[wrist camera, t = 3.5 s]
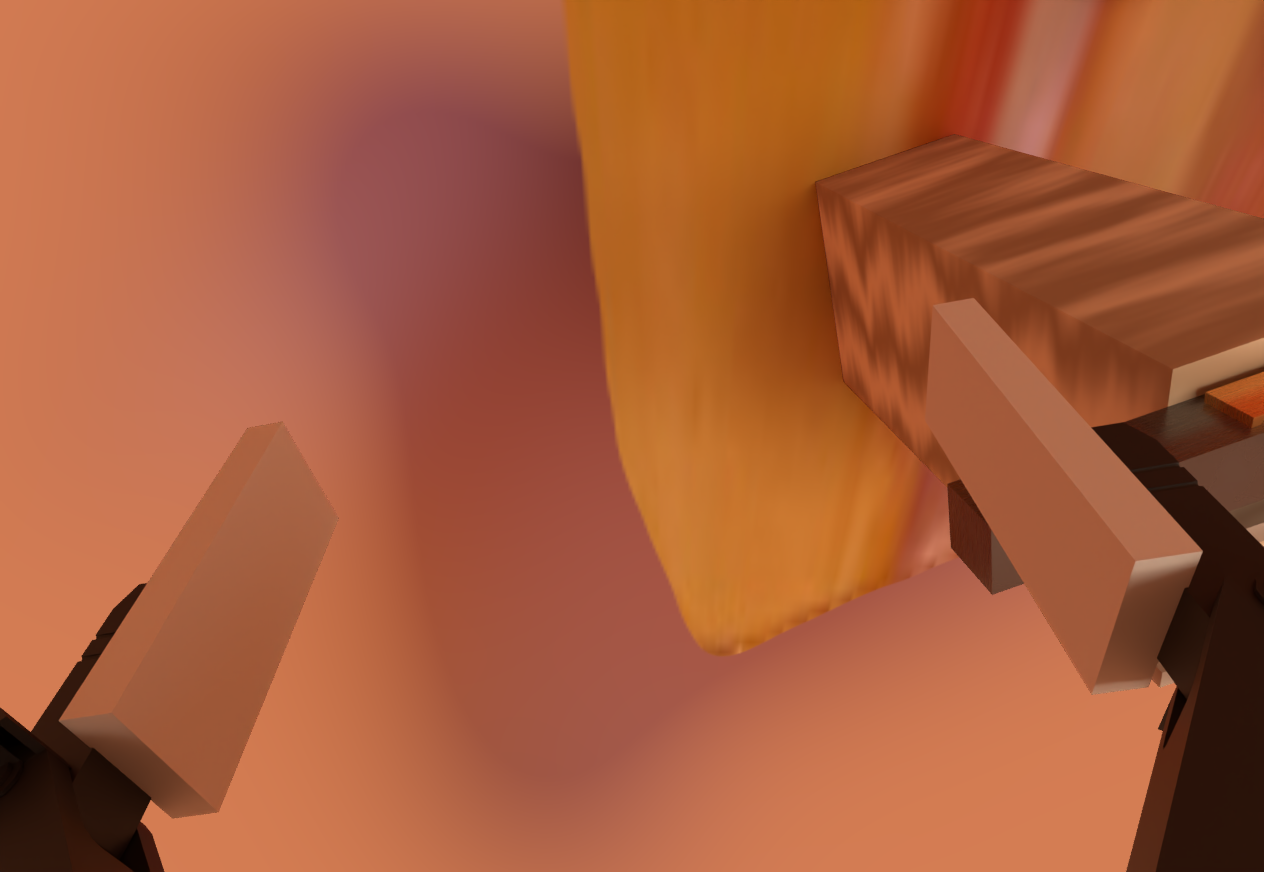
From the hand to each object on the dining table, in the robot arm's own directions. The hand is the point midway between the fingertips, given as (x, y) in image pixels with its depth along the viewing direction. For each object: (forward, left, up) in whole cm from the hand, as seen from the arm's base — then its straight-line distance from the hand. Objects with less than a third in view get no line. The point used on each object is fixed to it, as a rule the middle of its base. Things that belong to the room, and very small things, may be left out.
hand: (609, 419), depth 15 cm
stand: (+16, +23, -35) cm, 45 cm away
